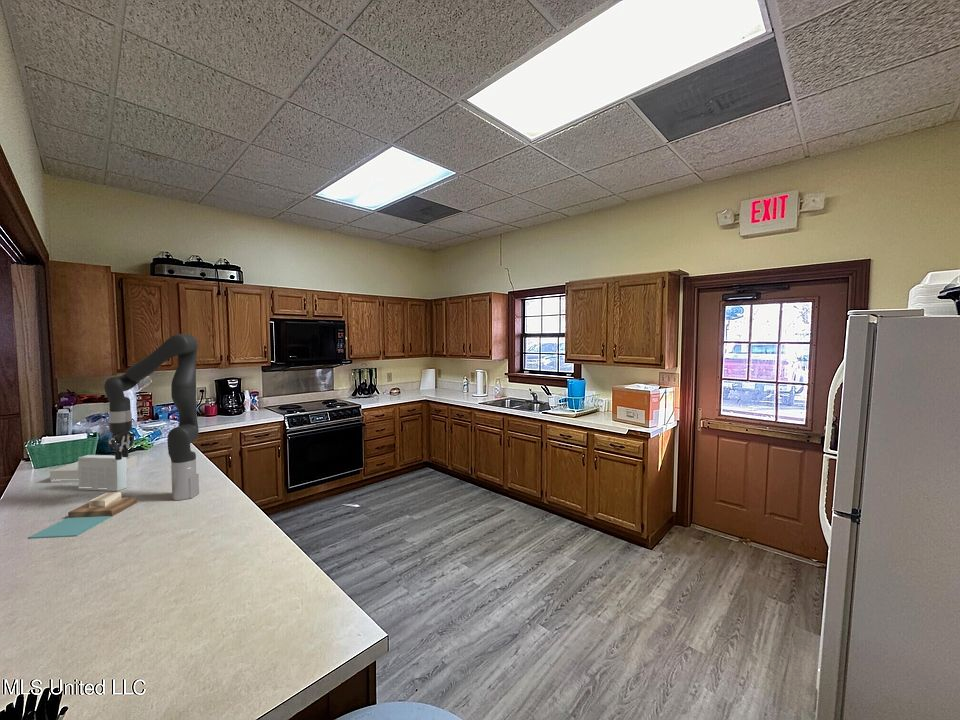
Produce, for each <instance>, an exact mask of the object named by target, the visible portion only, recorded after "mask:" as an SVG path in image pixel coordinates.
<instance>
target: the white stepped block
mask: <svg viewBox="0 0 960 720" xmlns="http://www.w3.org/2000/svg"><path fill="white" fill-rule="evenodd" d="M136 464H137V465H136ZM126 465H127V468H128V469H127V472H128V471H129V470H132V469H134V468H136V467H138V455H129V456H128V457H126ZM134 465H135V466H134ZM132 466H133V467H132ZM129 467H130V468H129ZM49 475H50V476H49V479H50V480H53V479H55V480H56V479H79V477H78V460H77V461H75V462H73V463H69V464H67V465H63V466H60V467H58V468H55V469H52V470H50V471H49ZM50 483H51V484H52V483H54V484H55V483H56V484H57V483H79V480H61V481H50Z"/></svg>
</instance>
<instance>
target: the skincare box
mask: <svg viewBox="0 0 960 720" xmlns="http://www.w3.org/2000/svg"><path fill="white" fill-rule="evenodd" d="M77 461H78V477H79V482H78V490H81V491H102V492H103V491H104V492H105V491H107V492H120V491H122V490H124V489H127V487H128V484H127V483H128V480H127V478H128V476H127V472H128V471H127V465H126V457H122V459H121V460H116V459H115V455H111V454H110V455H109V454H108V455H105V454H103V455H101V454H87V455H83V456H78V457H77ZM79 487H92V488H79ZM98 488H107V489H98Z"/></svg>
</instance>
